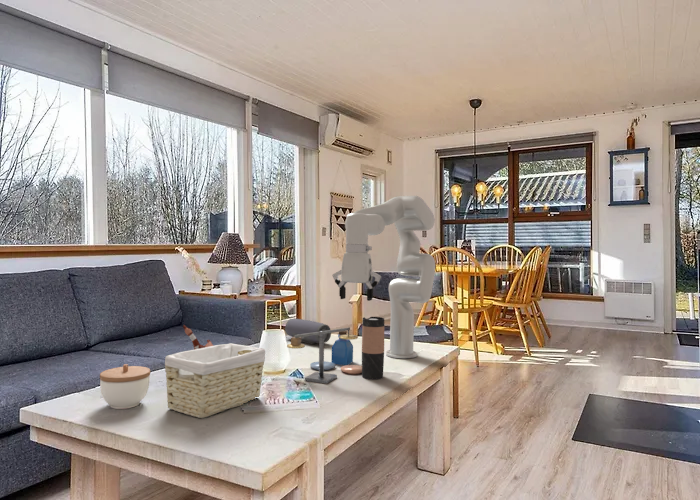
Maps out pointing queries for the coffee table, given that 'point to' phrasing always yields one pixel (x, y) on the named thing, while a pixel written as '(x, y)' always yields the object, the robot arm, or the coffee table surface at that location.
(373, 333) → the travel mug
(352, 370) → the peach glossy round dome
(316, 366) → the pale blue dome
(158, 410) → the coffee table surface
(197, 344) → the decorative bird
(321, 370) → the balance
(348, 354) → the perfume bottle
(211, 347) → the storage basket
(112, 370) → the lidded bowl
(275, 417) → the coffee table surface
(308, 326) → the bluetooth speaker
